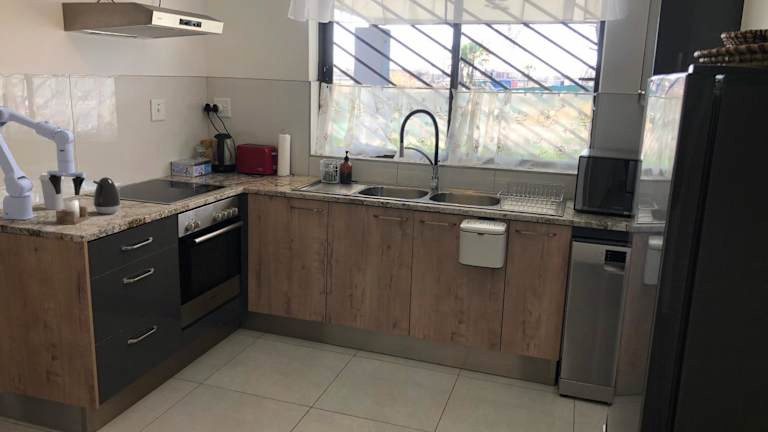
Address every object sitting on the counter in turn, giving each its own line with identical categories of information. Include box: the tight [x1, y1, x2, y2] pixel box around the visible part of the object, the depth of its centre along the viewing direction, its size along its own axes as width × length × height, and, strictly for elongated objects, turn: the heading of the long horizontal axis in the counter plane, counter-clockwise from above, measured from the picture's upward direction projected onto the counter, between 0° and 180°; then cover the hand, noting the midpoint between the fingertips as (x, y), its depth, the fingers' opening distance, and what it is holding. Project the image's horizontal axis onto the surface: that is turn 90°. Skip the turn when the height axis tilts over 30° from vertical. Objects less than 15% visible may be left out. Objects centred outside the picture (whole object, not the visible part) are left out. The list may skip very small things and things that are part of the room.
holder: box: [54, 204, 90, 226], centre depth 237 cm, size 8×11×6 cm
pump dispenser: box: [92, 176, 121, 215], centre depth 252 cm, size 10×10×15 cm
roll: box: [63, 199, 80, 219], centre depth 237 cm, size 5×5×7 cm
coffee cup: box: [38, 172, 65, 211], centre depth 257 cm, size 10×10×15 cm
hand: (67, 194), depth 239 cm, fingers open, 7 cm apart
